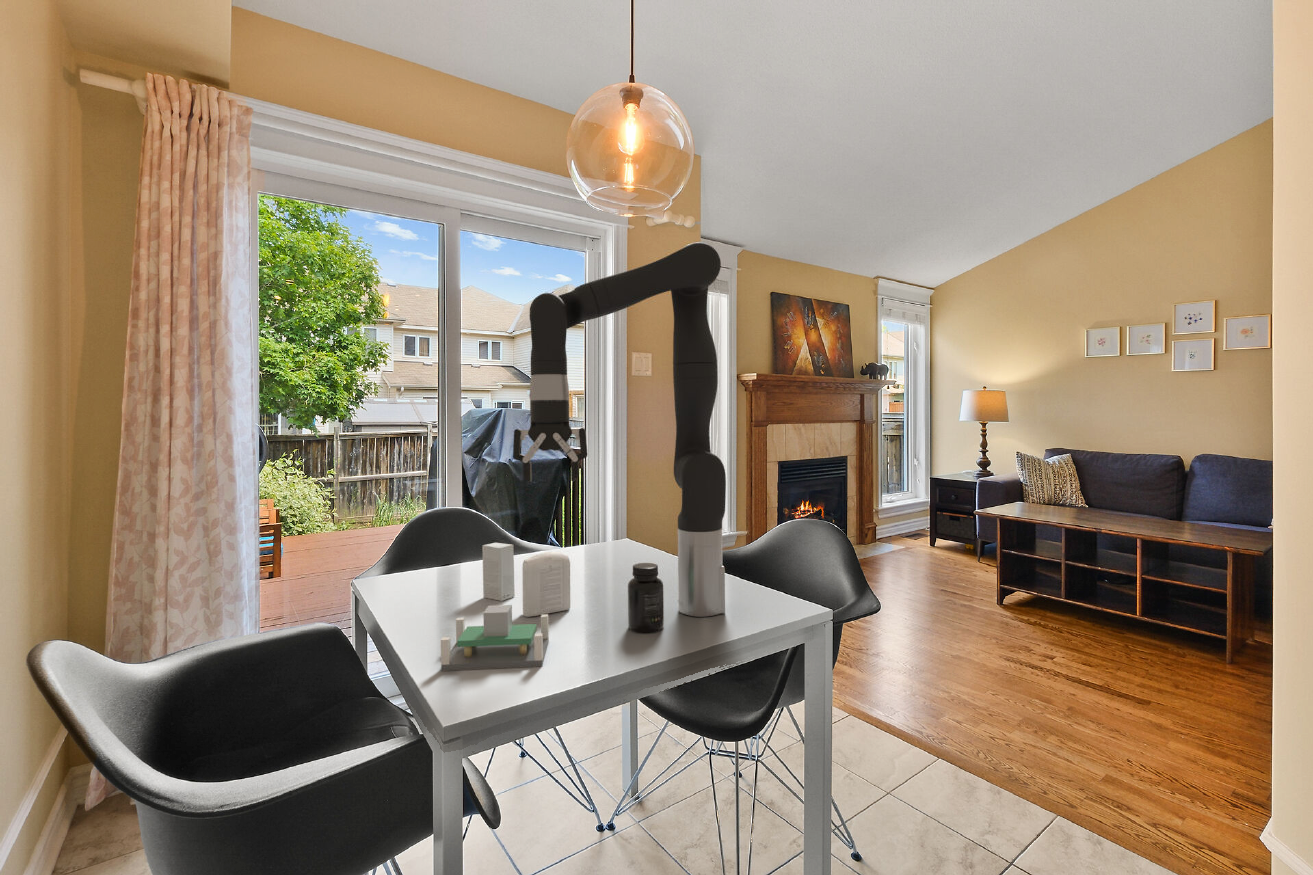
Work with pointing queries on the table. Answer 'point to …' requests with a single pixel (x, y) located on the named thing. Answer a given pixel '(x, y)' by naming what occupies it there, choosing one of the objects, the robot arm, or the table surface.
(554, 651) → the table surface
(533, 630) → the module board
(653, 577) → the supplement bottle
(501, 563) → the skincare box
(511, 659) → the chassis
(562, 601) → the white rounded block
